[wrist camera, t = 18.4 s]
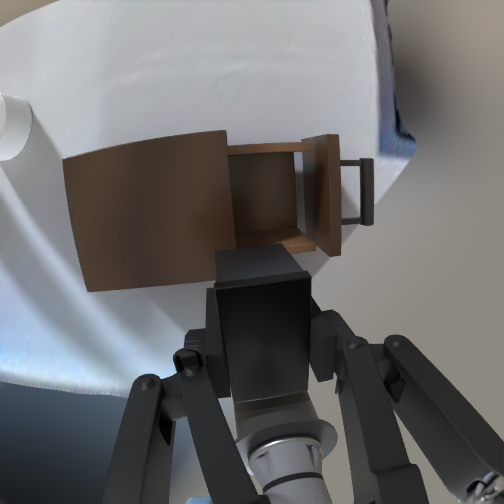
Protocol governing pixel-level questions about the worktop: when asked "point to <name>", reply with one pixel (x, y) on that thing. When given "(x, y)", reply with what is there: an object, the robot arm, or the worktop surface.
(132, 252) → the cabinet
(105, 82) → the worktop surface
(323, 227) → the drawer
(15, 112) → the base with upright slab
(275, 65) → the worktop surface
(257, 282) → the dark grey rectangular block
